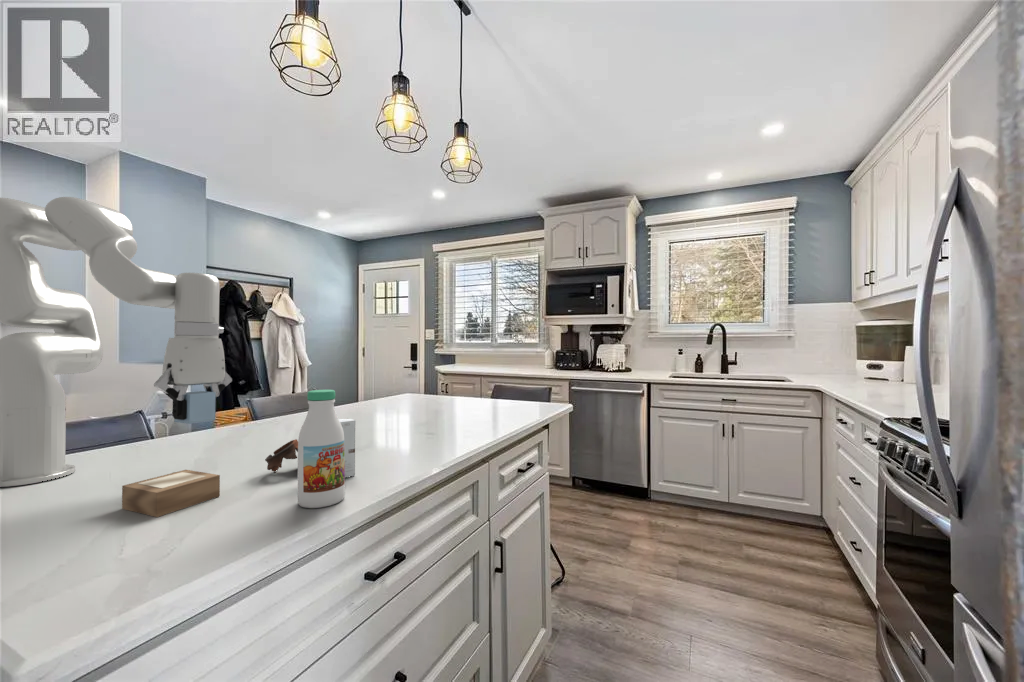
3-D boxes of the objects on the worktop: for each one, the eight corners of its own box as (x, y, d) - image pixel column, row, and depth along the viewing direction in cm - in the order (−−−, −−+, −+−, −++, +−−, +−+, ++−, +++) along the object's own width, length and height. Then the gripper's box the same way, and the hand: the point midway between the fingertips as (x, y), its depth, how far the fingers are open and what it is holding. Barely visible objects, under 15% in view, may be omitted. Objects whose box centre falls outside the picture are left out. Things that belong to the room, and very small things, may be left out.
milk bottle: (287, 508, 71) (287, 392, 71) (315, 492, 79) (315, 388, 79) (328, 510, 70) (328, 393, 70) (353, 494, 77) (352, 388, 78)
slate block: (174, 421, 86) (175, 393, 86) (200, 418, 91) (200, 391, 91) (189, 423, 84) (190, 394, 84) (215, 419, 89) (215, 392, 89)
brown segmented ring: (308, 481, 87) (286, 450, 86) (273, 498, 89) (250, 468, 87) (335, 452, 99) (315, 424, 97) (303, 468, 100) (283, 441, 99)
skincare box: (327, 482, 84) (327, 423, 85) (319, 477, 88) (319, 420, 88) (356, 475, 89) (356, 419, 89) (348, 471, 92) (348, 417, 92)
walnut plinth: (122, 508, 71) (122, 485, 71) (185, 490, 81) (185, 469, 81) (157, 517, 68) (157, 492, 68) (219, 496, 77) (219, 474, 77)
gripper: (225, 333, 97) (224, 410, 97) (138, 330, 81) (135, 422, 81) (247, 333, 94) (246, 412, 94) (161, 329, 78) (159, 425, 78)
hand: (195, 416), depth 87 cm, fingers closed on slate block, 5 cm apart
